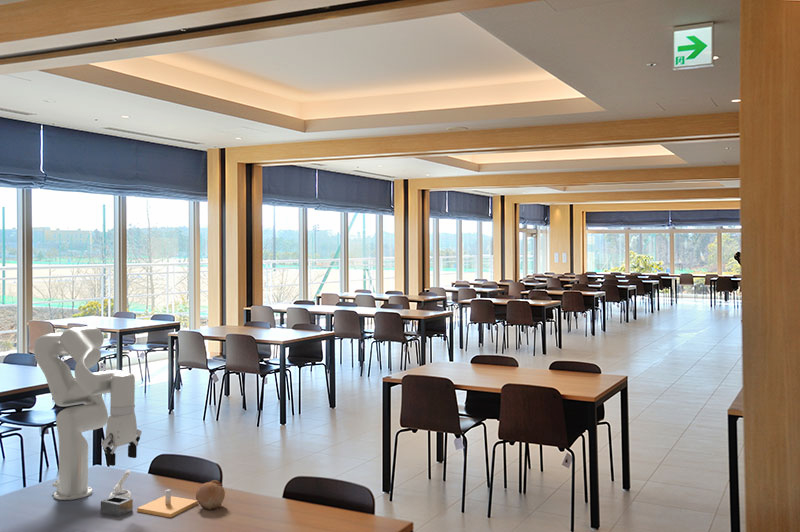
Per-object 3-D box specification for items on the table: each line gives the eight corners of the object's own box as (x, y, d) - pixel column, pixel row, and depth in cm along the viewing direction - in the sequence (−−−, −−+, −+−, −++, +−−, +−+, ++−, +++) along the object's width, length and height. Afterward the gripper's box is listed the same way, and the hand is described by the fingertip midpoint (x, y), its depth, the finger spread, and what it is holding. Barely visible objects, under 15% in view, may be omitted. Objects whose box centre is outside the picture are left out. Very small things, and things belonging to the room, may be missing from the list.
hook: (140, 486, 242) (122, 476, 240) (121, 512, 243) (103, 502, 242) (145, 475, 249) (128, 465, 248) (127, 500, 251) (110, 490, 249)
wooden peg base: (137, 511, 232) (137, 493, 232) (165, 498, 245) (165, 481, 245) (170, 517, 226) (170, 499, 226) (197, 504, 239) (198, 486, 239)
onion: (217, 512, 240) (228, 484, 243) (218, 514, 231) (230, 484, 235) (191, 504, 238) (202, 475, 242) (191, 505, 229) (203, 475, 233)
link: (100, 513, 230) (100, 501, 230) (114, 507, 235) (114, 495, 235) (119, 516, 227) (119, 504, 227) (132, 510, 232) (132, 498, 232)
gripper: (132, 404, 240) (131, 453, 241) (93, 414, 224) (93, 466, 224) (149, 406, 238) (148, 455, 238) (111, 416, 222) (111, 469, 222)
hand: (121, 461), depth 231 cm, fingers open, 9 cm apart
